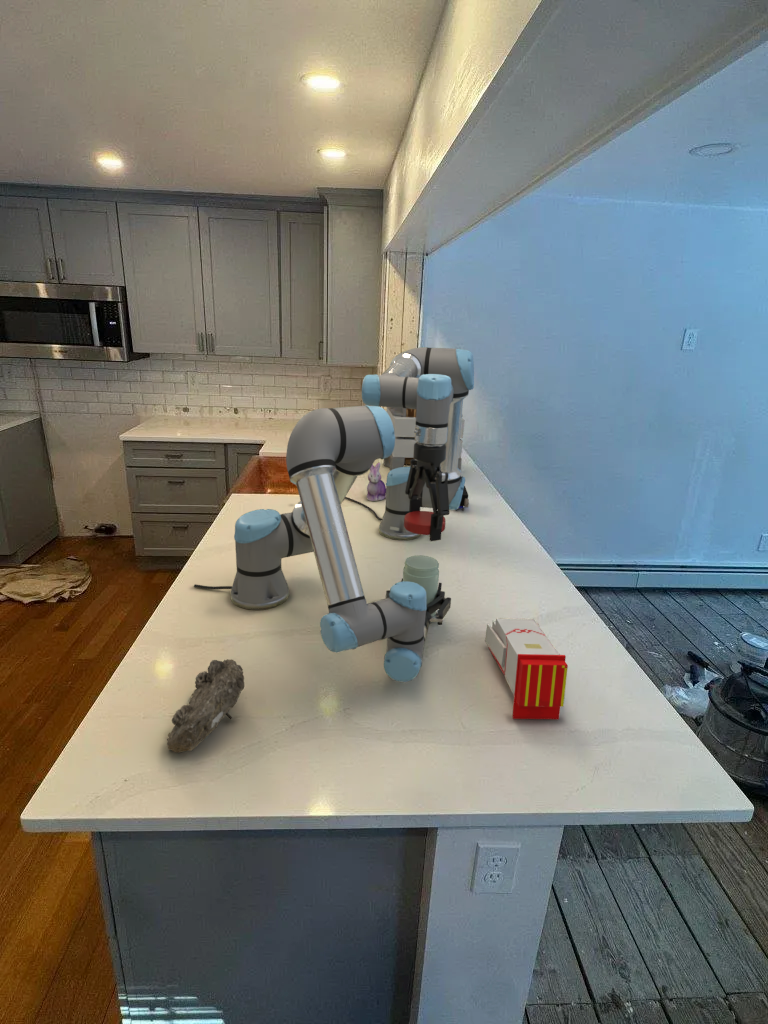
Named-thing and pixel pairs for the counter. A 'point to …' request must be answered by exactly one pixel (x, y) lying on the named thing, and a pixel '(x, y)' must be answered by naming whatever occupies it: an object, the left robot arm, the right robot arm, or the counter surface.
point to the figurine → (375, 484)
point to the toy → (529, 667)
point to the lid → (420, 522)
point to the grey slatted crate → (407, 437)
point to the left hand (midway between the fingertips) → (421, 585)
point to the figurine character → (464, 499)
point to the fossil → (206, 705)
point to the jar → (423, 574)
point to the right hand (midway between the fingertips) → (424, 531)
